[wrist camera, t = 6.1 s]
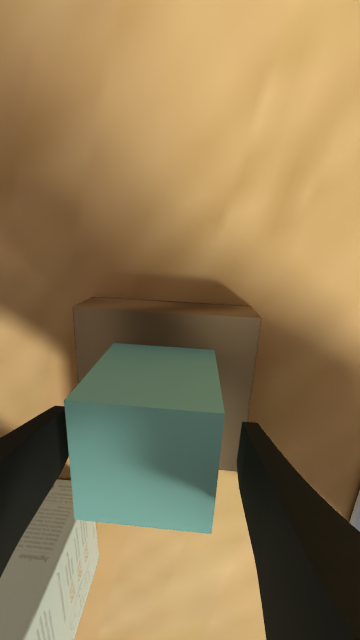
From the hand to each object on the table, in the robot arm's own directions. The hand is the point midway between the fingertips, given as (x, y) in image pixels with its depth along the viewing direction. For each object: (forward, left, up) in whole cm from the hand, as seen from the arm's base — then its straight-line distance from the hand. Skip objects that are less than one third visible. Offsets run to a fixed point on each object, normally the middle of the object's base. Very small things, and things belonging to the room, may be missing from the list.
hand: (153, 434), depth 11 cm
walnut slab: (0, 0, -6) cm, 6 cm away
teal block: (0, 0, -3) cm, 3 cm away
